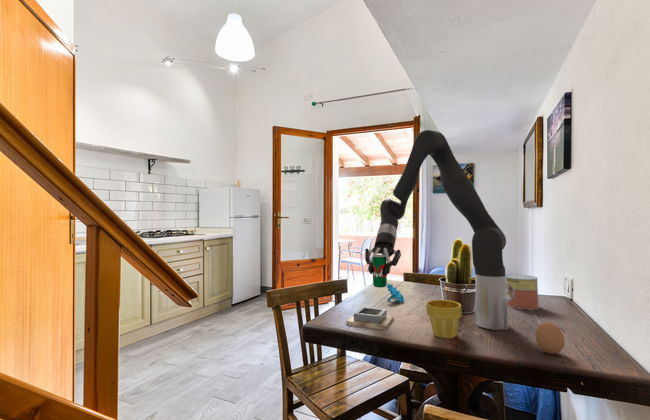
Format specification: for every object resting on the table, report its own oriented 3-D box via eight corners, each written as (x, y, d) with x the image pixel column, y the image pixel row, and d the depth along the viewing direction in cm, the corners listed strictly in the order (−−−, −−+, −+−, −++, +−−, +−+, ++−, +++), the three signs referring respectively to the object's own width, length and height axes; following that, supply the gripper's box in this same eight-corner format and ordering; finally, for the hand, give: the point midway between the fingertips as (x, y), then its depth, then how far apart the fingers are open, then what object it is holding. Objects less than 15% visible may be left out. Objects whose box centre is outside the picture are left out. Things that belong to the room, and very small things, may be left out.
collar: (386, 316, 117) (386, 309, 118) (380, 323, 109) (380, 316, 109) (362, 313, 121) (361, 306, 121) (353, 320, 113) (353, 313, 113)
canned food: (501, 302, 139) (500, 274, 139) (528, 302, 138) (527, 274, 139) (515, 310, 128) (514, 279, 128) (545, 309, 127) (543, 279, 127)
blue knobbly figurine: (401, 301, 136) (385, 283, 141) (391, 310, 138) (376, 292, 143) (409, 299, 145) (394, 282, 150) (400, 308, 147) (385, 290, 152)
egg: (568, 359, 82) (567, 327, 83) (539, 356, 85) (538, 324, 85) (560, 350, 88) (559, 319, 89) (533, 347, 91) (532, 317, 91)
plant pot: (427, 339, 98) (426, 306, 98) (426, 328, 108) (425, 298, 108) (464, 342, 95) (463, 308, 95) (459, 330, 105) (458, 300, 105)
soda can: (388, 285, 119) (387, 253, 120) (384, 288, 115) (384, 254, 115) (375, 284, 122) (374, 252, 122) (371, 287, 117) (370, 254, 117)
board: (393, 319, 118) (393, 315, 118) (386, 329, 107) (385, 325, 107) (357, 315, 123) (357, 312, 123) (346, 324, 112) (346, 321, 113)
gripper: (366, 231, 128) (356, 265, 117) (402, 231, 122) (396, 268, 111) (370, 243, 133) (361, 277, 122) (405, 244, 127) (399, 280, 116)
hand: (378, 273), depth 117 cm, fingers closed on soda can, 5 cm apart
